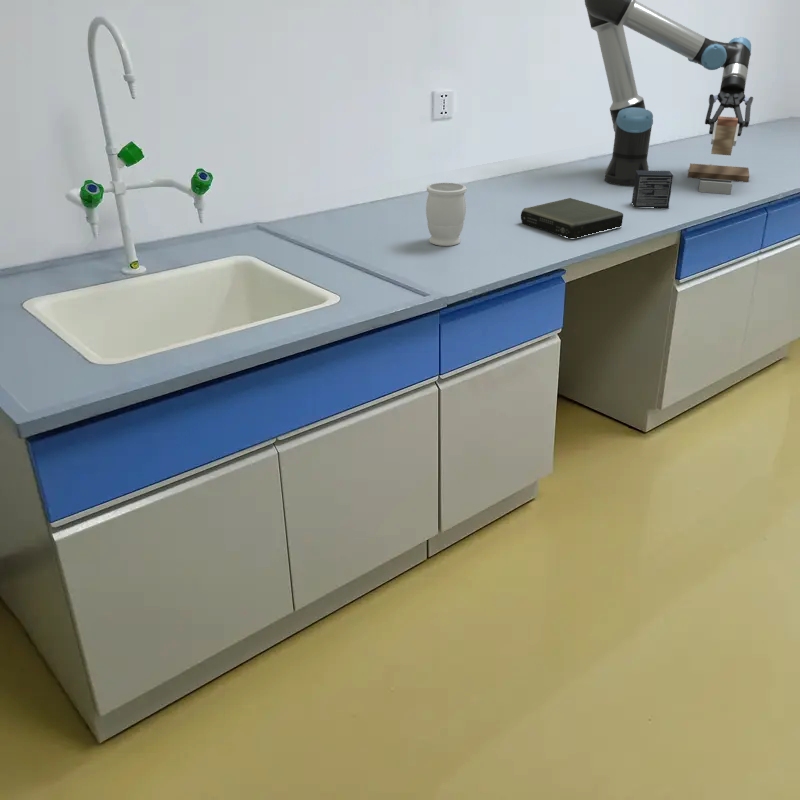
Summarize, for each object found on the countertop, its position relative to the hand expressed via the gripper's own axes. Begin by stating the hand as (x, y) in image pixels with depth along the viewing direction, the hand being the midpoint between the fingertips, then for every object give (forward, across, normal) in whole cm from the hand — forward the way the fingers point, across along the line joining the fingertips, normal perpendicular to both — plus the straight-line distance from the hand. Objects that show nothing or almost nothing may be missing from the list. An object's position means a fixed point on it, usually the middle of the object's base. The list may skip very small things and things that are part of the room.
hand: (723, 142), depth 261 cm
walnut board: (-7, -1, -29) cm, 30 cm away
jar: (+69, +69, +46) cm, 108 cm away
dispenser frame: (+9, 0, -14) cm, 16 cm away
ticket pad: (0, 0, -5) cm, 5 cm away
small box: (+29, +19, +6) cm, 35 cm away
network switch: (+50, +39, +26) cm, 69 cm away
